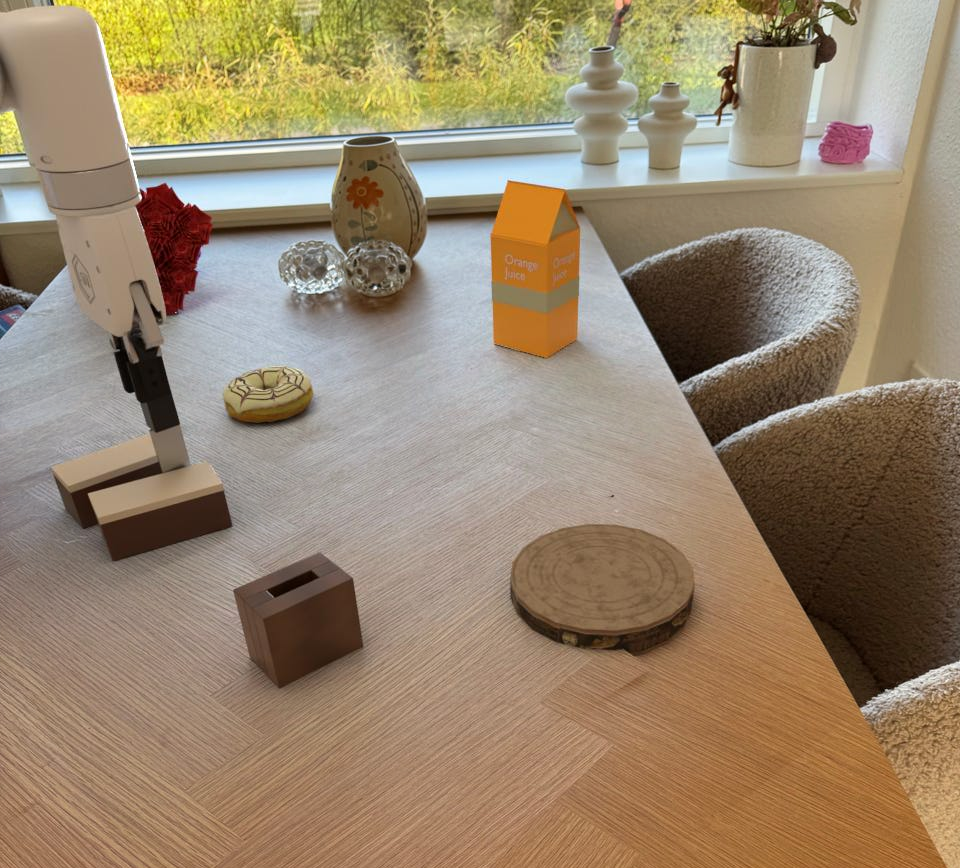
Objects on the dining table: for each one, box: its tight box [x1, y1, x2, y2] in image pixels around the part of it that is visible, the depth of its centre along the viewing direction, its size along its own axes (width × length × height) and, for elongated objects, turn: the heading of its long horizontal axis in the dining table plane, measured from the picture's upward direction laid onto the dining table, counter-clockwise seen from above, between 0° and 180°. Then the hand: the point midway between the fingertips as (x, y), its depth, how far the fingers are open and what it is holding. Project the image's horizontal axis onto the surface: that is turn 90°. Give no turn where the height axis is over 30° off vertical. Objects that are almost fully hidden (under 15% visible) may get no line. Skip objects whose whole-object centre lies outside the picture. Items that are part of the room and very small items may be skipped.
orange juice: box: [490, 179, 581, 359], centre depth 124 cm, size 8×9×20 cm
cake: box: [50, 433, 162, 529], centre depth 100 cm, size 12×5×5 cm, turn 128°
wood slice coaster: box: [509, 523, 696, 657], centre depth 84 cm, size 16×16×3 cm
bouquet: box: [135, 182, 214, 315], centre depth 151 cm, size 20×16×30 cm
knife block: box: [232, 551, 364, 689], centre depth 77 cm, size 8×5×8 cm, turn 128°
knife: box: [121, 333, 192, 473], centre depth 93 cm, size 3×2×18 cm
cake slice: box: [88, 460, 233, 562], centre depth 95 cm, size 12×5×5 cm, turn 118°
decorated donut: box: [222, 365, 314, 424], centre depth 116 cm, size 10×11×4 cm
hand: (147, 392), depth 91 cm, fingers closed on knife, 2 cm apart
